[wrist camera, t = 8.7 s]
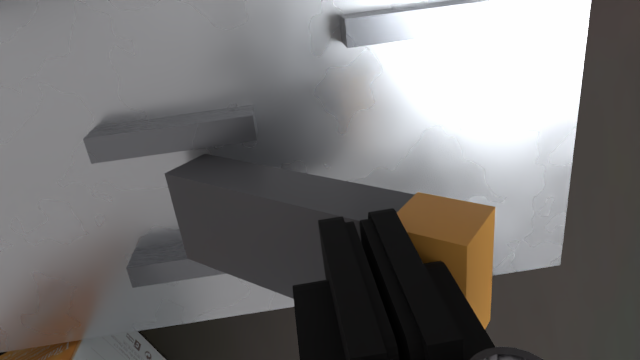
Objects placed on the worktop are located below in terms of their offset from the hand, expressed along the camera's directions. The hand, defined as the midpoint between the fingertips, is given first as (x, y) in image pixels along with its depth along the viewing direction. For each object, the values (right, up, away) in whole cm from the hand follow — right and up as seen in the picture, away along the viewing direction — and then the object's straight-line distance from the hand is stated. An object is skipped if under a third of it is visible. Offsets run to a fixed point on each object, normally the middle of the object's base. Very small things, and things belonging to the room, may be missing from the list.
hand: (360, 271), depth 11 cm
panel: (-4, +5, +8) cm, 10 cm away
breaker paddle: (-5, +1, +5) cm, 7 cm away
